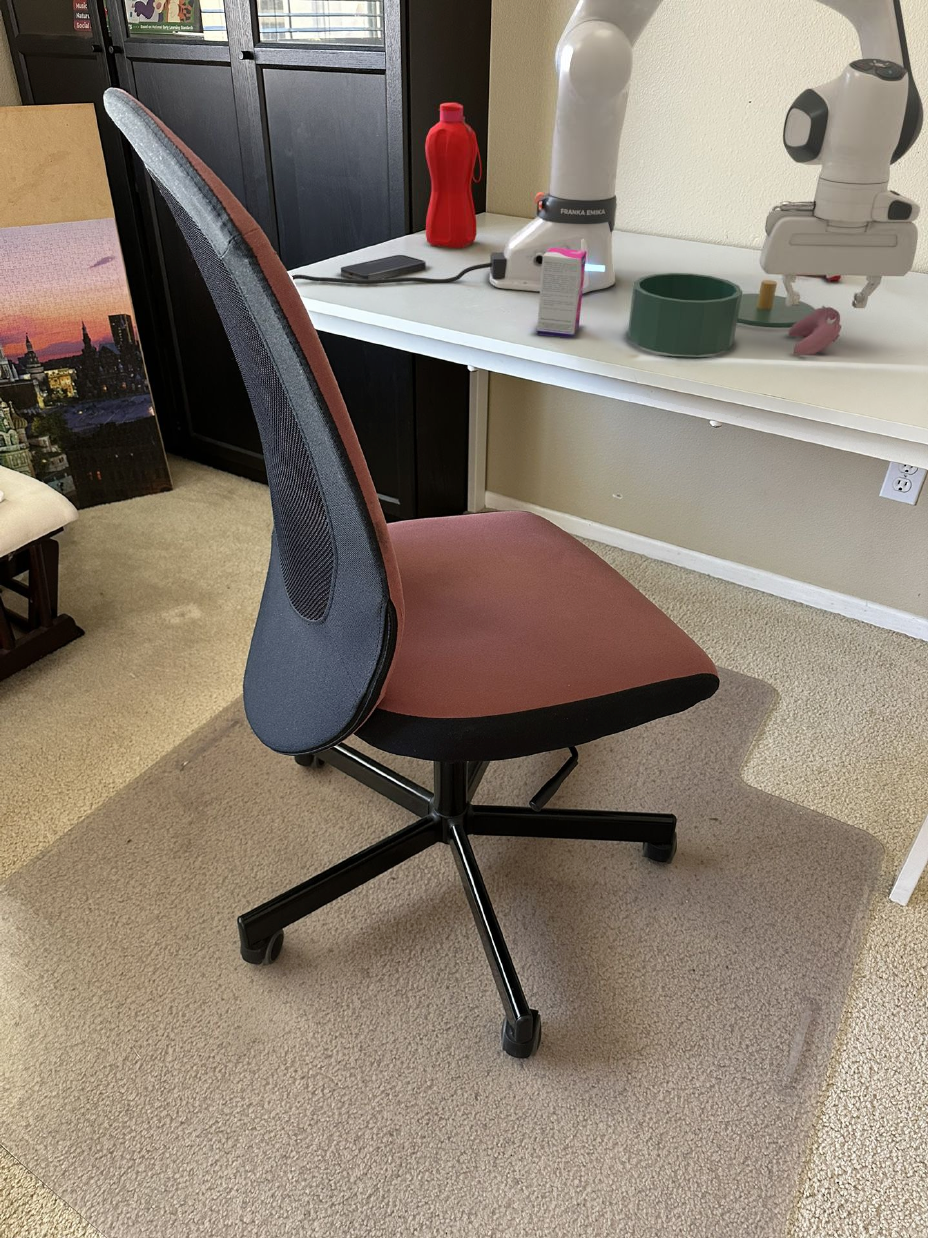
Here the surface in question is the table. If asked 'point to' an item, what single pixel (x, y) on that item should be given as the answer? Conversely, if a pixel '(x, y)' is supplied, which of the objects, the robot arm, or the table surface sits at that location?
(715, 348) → the tin
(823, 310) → the video game controller
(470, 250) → the table surface
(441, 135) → the water bottle
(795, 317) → the tin lid
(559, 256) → the supplement box
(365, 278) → the phone
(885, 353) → the table surface
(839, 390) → the table surface
